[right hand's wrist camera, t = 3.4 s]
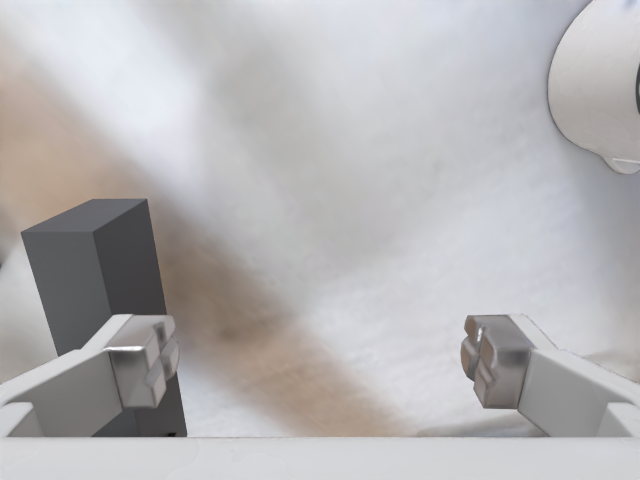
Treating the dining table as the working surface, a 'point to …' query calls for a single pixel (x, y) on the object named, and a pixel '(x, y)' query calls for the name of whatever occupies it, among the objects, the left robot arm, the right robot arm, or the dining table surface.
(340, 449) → the right robot arm
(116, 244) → the bar
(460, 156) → the dining table surface
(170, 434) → the left robot arm
